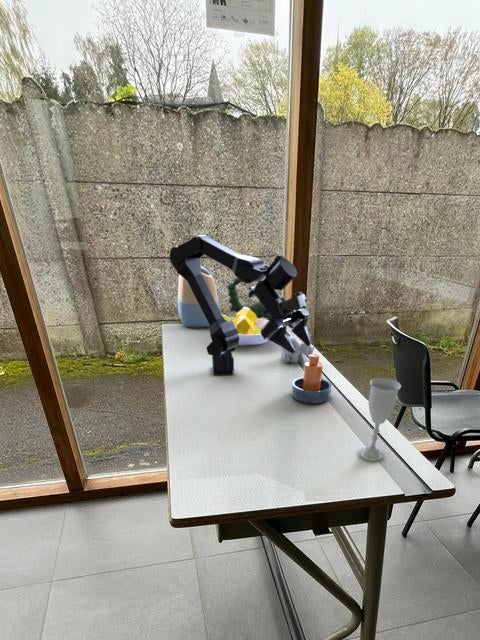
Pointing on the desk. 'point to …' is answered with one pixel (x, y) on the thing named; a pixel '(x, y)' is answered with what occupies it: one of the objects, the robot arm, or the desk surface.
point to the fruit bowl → (248, 327)
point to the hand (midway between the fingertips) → (302, 348)
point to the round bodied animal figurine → (296, 350)
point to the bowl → (311, 392)
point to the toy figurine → (237, 306)
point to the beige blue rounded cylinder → (194, 301)
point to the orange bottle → (312, 374)
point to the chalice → (380, 410)
